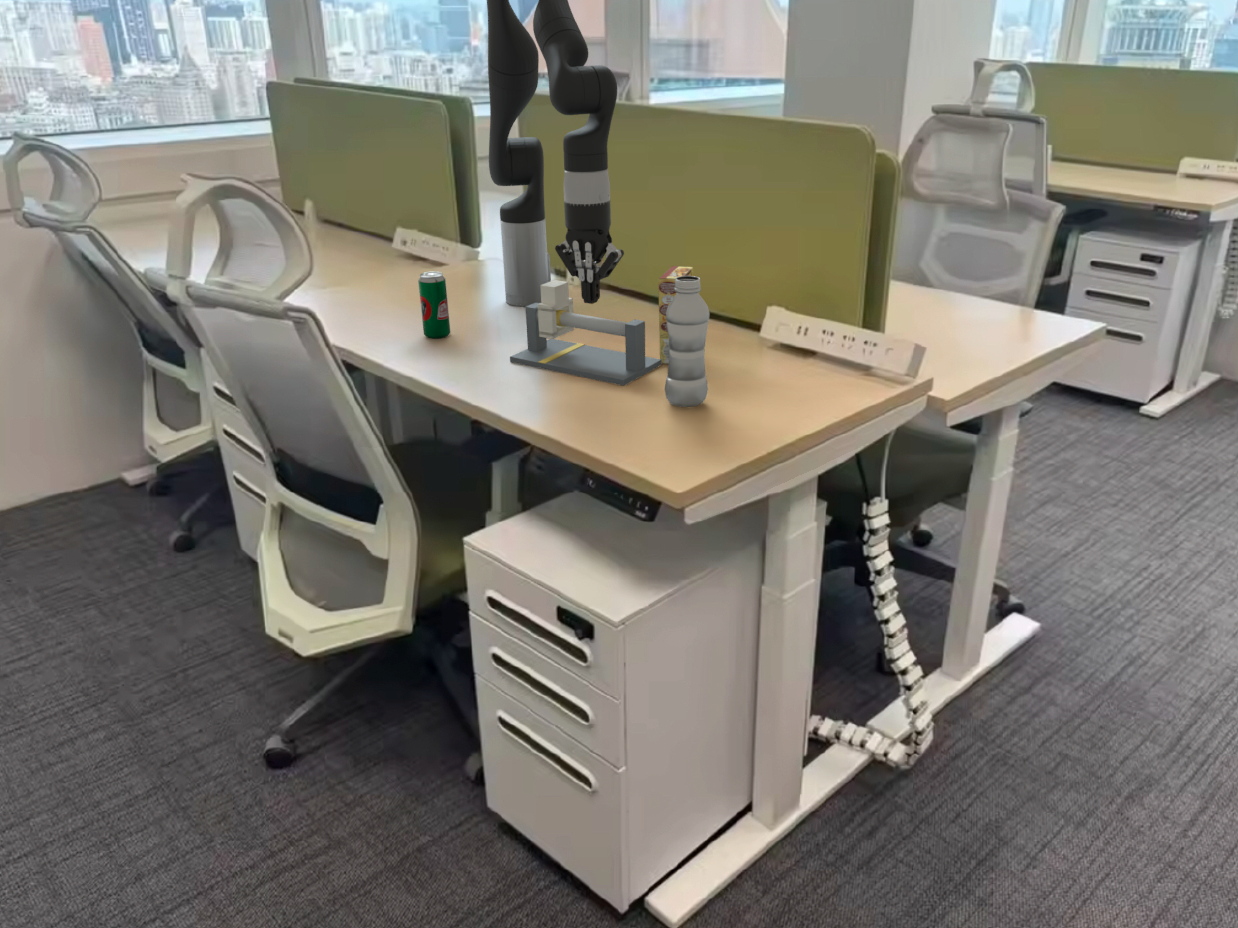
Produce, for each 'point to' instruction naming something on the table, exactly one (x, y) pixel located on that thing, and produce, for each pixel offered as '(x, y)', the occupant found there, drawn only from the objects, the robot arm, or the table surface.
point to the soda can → (434, 305)
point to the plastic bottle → (687, 344)
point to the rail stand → (588, 349)
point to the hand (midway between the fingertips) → (590, 302)
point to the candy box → (665, 299)
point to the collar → (553, 308)
